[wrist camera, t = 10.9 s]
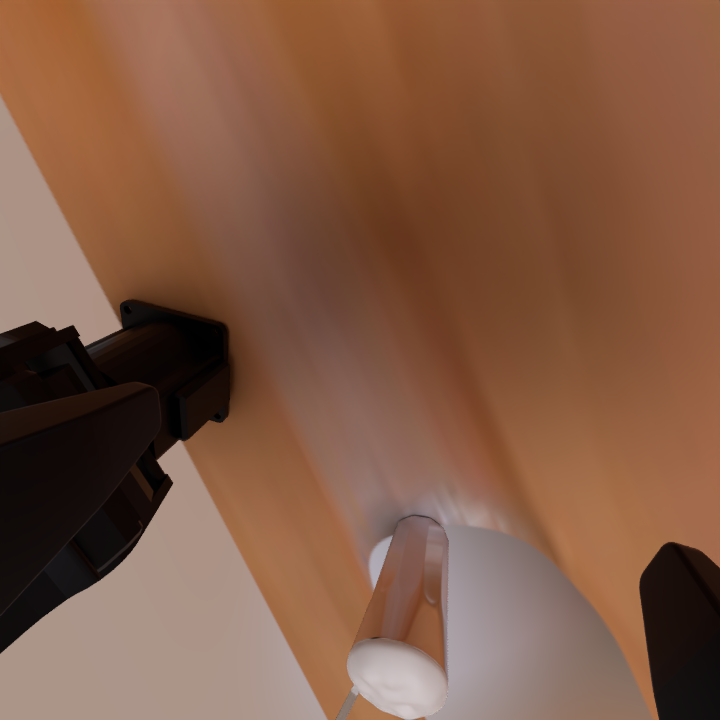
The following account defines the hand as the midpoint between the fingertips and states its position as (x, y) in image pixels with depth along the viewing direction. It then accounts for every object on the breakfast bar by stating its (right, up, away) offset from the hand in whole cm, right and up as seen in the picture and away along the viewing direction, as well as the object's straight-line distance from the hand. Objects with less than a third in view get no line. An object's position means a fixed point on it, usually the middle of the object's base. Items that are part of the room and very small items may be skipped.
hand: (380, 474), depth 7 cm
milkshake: (+3, -9, +19) cm, 21 cm away
